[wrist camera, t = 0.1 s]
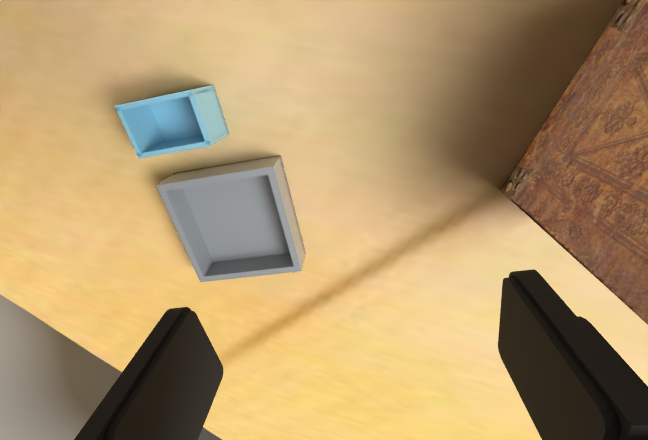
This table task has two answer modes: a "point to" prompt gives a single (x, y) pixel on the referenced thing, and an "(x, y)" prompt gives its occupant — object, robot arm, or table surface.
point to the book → (598, 162)
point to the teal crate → (174, 122)
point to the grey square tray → (235, 219)
